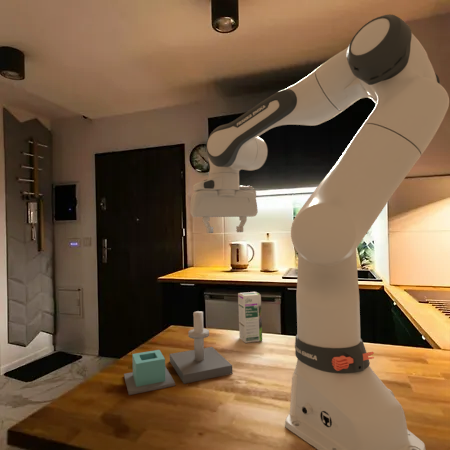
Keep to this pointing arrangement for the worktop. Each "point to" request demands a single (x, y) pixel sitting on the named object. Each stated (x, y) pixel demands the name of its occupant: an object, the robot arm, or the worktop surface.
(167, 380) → the mat
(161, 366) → the collar
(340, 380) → the robot arm
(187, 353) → the stand
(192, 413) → the worktop surface
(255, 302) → the syrup box
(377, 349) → the worktop surface
